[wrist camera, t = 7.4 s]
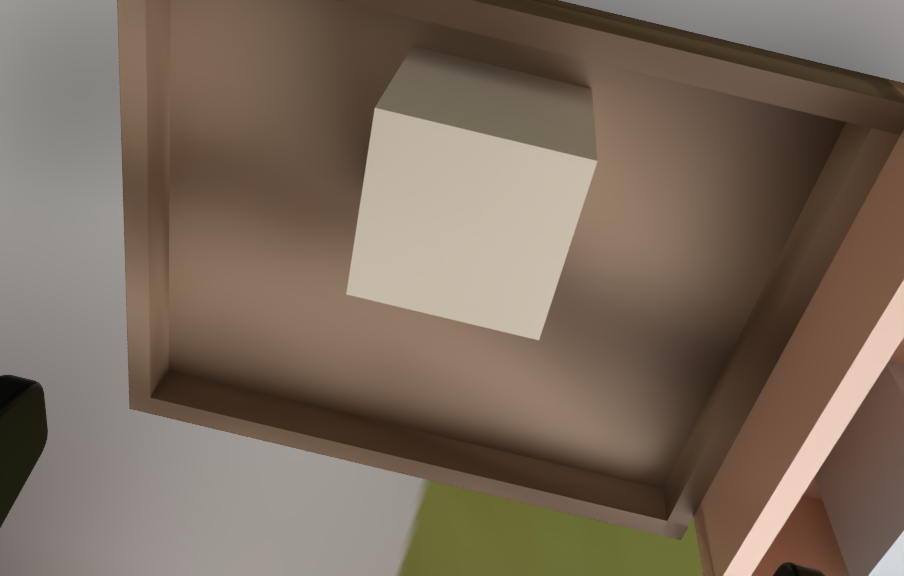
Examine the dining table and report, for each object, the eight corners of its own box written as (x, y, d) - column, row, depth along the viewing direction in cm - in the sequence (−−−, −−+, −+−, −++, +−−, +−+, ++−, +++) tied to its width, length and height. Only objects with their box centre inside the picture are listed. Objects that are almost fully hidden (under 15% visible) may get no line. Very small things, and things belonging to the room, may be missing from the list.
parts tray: (673, 492, 24) (680, 539, 22) (157, 369, 24) (129, 408, 22) (885, 78, 17) (916, 106, 15) (155, -97, 17) (114, -85, 15)
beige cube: (544, 245, 19) (539, 340, 16) (384, 207, 19) (346, 294, 16) (592, 88, 17) (597, 160, 14) (412, 46, 17) (374, 108, 14)
